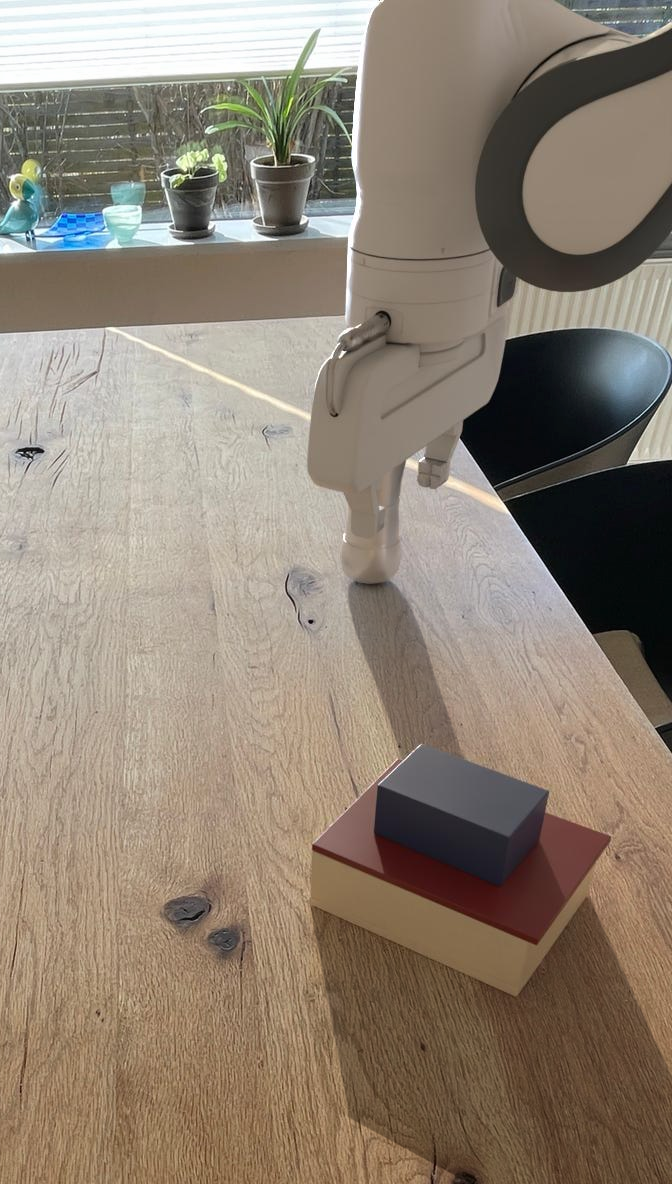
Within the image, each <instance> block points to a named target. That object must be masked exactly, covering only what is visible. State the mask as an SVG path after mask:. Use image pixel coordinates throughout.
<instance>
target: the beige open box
mask: <svg viewBox="0 0 672 1184" xmlns="http://www.w3.org/2000/svg"><path fill="white" fill-rule="evenodd" d="M596 863H597V862H596ZM596 863H595V864H594V866H593V867H592V868H591V870H590V871H589V873H588V874H587V875H586V877H585V878H584V880H583V881H582V882H581V884H580V885H579V887H578V888H577V890H576V891H575V892H574V894H573V895H572V897H571V898H570V899H569V901H568V902H567V904H566V905H565V907H564V908H563V909H562V911H561V912H560V914H559V915H558V916H557V918H556V919H555V921H554V922H553V923H552V925H551V926H550V928H549V929H548V931H547V932H546V933H545V935H544V936H543V938H542V939H541V940H540V942H539V943H538V945H534V944H532V943H530V942H527V941H525V940H522V939H520V938H518V937H515V936H513V935H511V934H508V933H506V932H504V931H501V930H499V929H497V928H494V927H492V926H489V925H487V924H485V923H482V922H480V921H478V920H475V919H473V918H471V917H468V916H466V915H464V914H461V913H459V912H456V911H454V910H452V909H449V908H447V907H445V906H442V905H440V904H438V903H435V902H433V901H431V900H428V899H426V898H424V897H421V896H419V895H416V894H414V893H412V892H409V891H407V890H405V889H402V888H400V887H398V886H395V885H393V884H391V883H388V882H386V881H383V880H381V879H379V878H376V877H374V876H372V875H369V874H367V873H365V872H362V871H360V870H358V869H355V868H353V867H350V866H348V865H346V864H343V863H341V862H339V861H336V860H334V859H332V858H329V857H327V856H325V855H322V854H320V853H317V852H315V851H313V850H311V869H310V870H311V871H310V872H311V874H310V876H311V877H310V897H309V901H310V902H309V905H310V906H312V907H315V908H317V909H320V910H322V911H323V912H326V913H328V914H330V915H332V916H335V917H337V918H340V919H342V920H344V921H346V922H349V923H351V924H353V925H355V926H357V927H360V928H362V929H364V930H366V931H368V932H371V933H373V934H375V935H377V936H380V937H382V938H384V939H386V940H388V941H390V942H393V943H395V944H397V945H399V946H402V947H404V948H406V949H408V950H410V951H413V952H415V953H417V954H419V955H422V956H424V957H426V958H429V959H431V960H433V961H435V962H436V963H439V964H442V965H444V966H446V967H448V968H451V969H452V970H455V971H457V972H460V973H462V974H464V975H466V976H468V977H471V978H473V979H475V980H477V981H480V982H481V983H484V984H487V985H488V986H490V987H493V988H495V989H498V990H500V991H502V992H504V993H506V994H508V995H511V996H513V997H515V998H517V997H518V996H519V994H520V993H521V991H522V990H523V988H524V987H525V986H526V985H527V983H528V982H529V980H530V979H531V977H532V976H533V974H534V973H535V971H536V970H537V969H538V967H539V965H540V964H541V963H542V961H543V960H544V958H545V957H546V956H547V954H548V953H549V951H550V950H551V949H552V947H553V945H555V942H556V941H557V940H558V938H559V937H560V936H561V934H562V933H563V931H564V929H566V927H567V925H568V924H569V922H570V921H571V920H572V918H573V916H574V915H575V914H576V912H577V911H578V909H579V908H580V907H581V905H582V904H583V902H584V901H585V899H586V898H587V896H588V895H589V892H590V888H591V884H592V880H593V876H594V872H595V868H596V865H597V864H596Z"/></svg>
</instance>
